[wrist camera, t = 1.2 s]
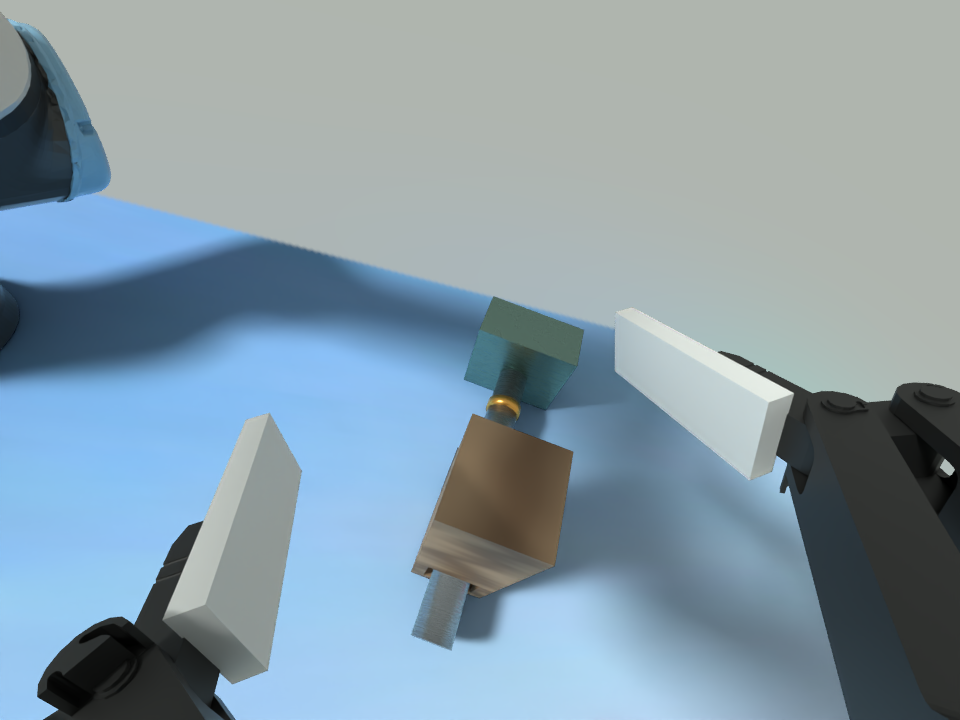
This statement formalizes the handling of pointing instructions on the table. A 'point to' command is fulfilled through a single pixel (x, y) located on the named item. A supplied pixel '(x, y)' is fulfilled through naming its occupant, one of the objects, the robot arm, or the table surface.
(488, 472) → the sleeve
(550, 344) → the rod stand
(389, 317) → the table surface
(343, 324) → the table surface
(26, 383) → the table surface
